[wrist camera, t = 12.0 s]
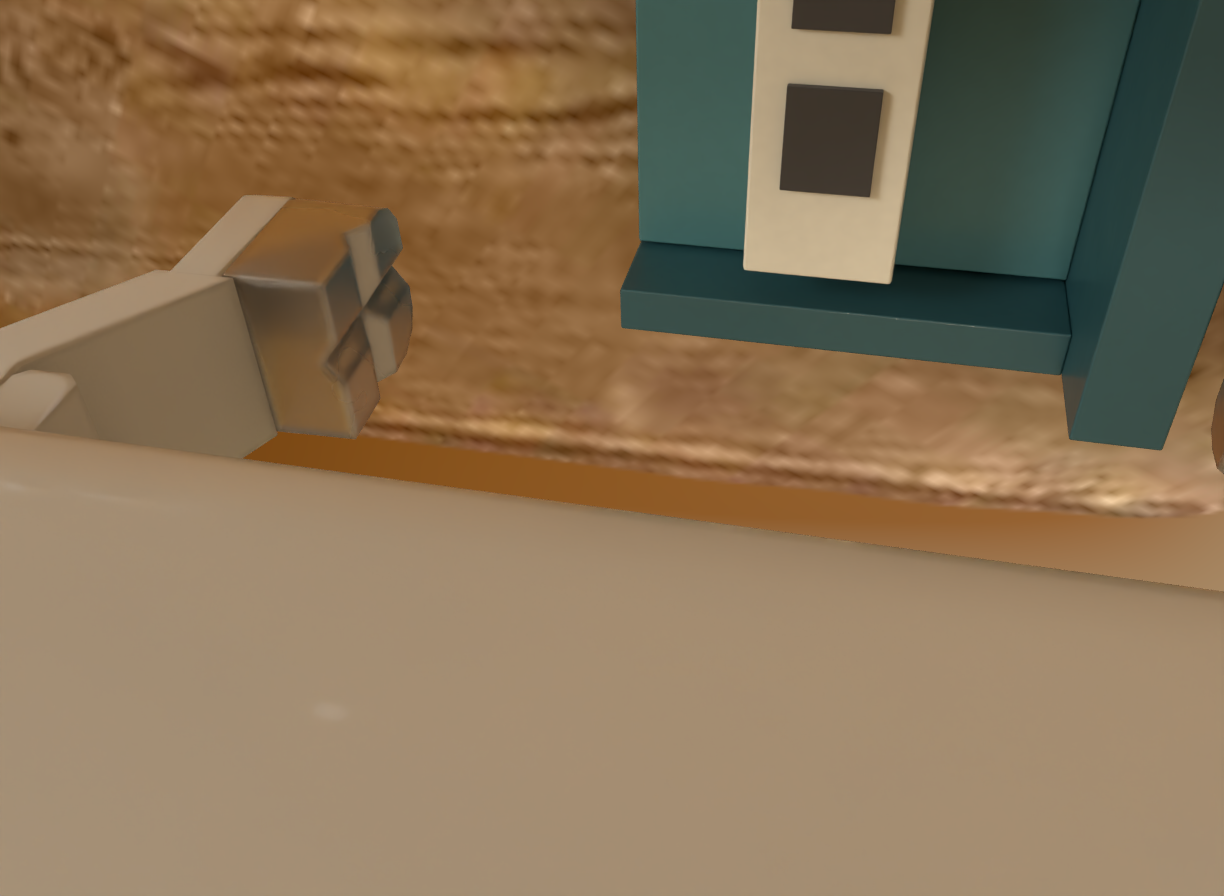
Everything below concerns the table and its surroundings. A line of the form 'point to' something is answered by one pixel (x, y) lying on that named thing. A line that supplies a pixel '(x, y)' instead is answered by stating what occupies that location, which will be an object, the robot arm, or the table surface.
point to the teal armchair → (969, 200)
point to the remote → (832, 134)
